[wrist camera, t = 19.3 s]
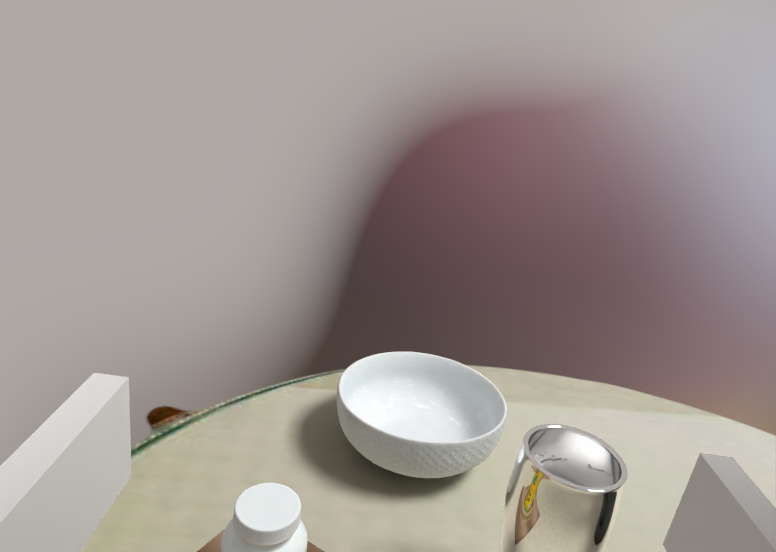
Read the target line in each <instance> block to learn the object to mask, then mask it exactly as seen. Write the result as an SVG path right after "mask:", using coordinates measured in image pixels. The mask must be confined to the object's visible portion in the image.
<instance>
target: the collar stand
mask: <svg viewBox="0 0 776 552" xmlns="http://www.w3.org/2000/svg"><path fill="white" fill-rule="evenodd" d="M223 532H224V530H223V531H222V532H221V533H220V534H218V535H217V536H216V537H215V538H213V539H212V540H211V541H210V542H209V543H207V544H206V545H205V546H204V547H202V548H201V549H200V550H199V551H197V552H220V547H221V539H222V535H223ZM307 552H324V551H322V550H321V549H319V548H318V547H316V546H315V545H313V544H312V543H310V542H308V541H307Z"/></svg>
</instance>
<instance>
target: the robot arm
mask: <svg viewBox="0 0 776 552" xmlns="http://www.w3.org/2000/svg"><path fill="white" fill-rule="evenodd" d="M130 477H131V448H130V412H129V378H128V377H122V376H114V375H107V374H100V373H94V374H93V375H92V376H90V377H89V378H88V379H87V381H85V383H83V384H82V385H81V386H80V387H79V388H78V390H76V391H75V392H74V393H73V394H72V395H71V396H70V397H69V398H68V399H67V400H66V401H65V402H64V404H62V405H61V406H60V407H59V408H58V409H57V410H56V411H55V412H54V413H53V414H52V415H51V416H50V417H49V418H48V419H47V420H46V421H45V422H44V423H43V424H42V425H41V426H40V427H39V428H38V429H37V430H36V431H35V432H34V433H33V434H32V435H31V436H30V437H29V438H28V439H27V440H26V441H25V442H24V443H23V444H22V445H21V446H20V447H19V448H18V449H17V450H16V451H15V452H14V453H13V454H12V455H11V456H10V457H9V458H8V459H7V460H6V461H5V462H4V463H3V464H2V465H1V466H0V552H81V551H82V550H83V548H84V547H85V545H86V544H87V542H88V541H89V539H90V538H91V536H92V535H93V533H94V532H95V530H96V529H97V527H98V526H99V524H100V523H101V521H102V520H103V518H104V517H105V515H106V514H107V512H108V511H109V509H110V507H111V506H112V504H113V503H114V501H115V500H116V498H117V497H118V495H119V494H120V492H121V491H122V489H123V488H124V486H125V485H126V483H127V482H128V480H129V479H130ZM663 545H664V547H665V549H666V551H667V552H776V508H775V507H774V506H773V505H772V503H771V502H770V501H769V500H768V499H767V498H766V496H765V495H764V494H763V493H762V492H761V490H760V489H759V488H758V487H757V486H756V485H755V483H754V482H753V481H752V480H751V479H750V478H749V476H748V475H747V474H746V473H745V472H744V470H743V469H742V468H741V467H740V466H739V465H738V463H737V462H736V461H735V460H734V459H733V458H732V457H725V456H717V455H710V454H702V453H700V455H699V457H698V460H697V462H696V465H695V467H694V469H693V472H692V474H691V477H690V479H689V482H688V484H687V487H686V489H685V491H684V494H683V496H682V499H681V501H680V504H679V506H678V508H677V511H676V513H675V516H674V518H673V521H672V523H671V526H670V528H669V530H668V533H667V535H666V538H665V540H664V543H663Z"/></svg>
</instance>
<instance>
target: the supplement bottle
mask: <svg viewBox="0 0 776 552" xmlns="http://www.w3.org/2000/svg"><path fill="white" fill-rule="evenodd" d="M300 515H301V503H300V499H299V497H298V495H297V494H296V493H295V492H294V491H293V490H292V489H291V488H289V487H287V486H285V485H282V484H278V483H261V484H257V485H254V486H252V487H250V488H248V489H246V490H245V491H244V492H243V493H242V494H241V495H240V496H239V497H238V499H237V501H236V503H235V508H234V517H233V519H232V520H231V521H230V522H229V524H228V525H227V527H226V528H225V530H224V532H223V535H222V539H221V547H220V552H307V533H306V529H305V527H304V525H303V523H302V521H301V520H300Z"/></svg>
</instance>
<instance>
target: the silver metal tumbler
mask: <svg viewBox="0 0 776 552" xmlns="http://www.w3.org/2000/svg"><path fill="white" fill-rule="evenodd" d="M626 480H627V468H626V465H625V463H624V461H623V460H622V458H621V457H620V456H619V454H618V453H617V452H616V451H615V450H614V449H613V448H612V447H610V446H609V445H608V444H607V443H605V442H604V441H602V440H601V439H599V438H597V437H596V436H594V435H592V434H590V433H587V432H585V431H583V430H580V429H577V428H573V427H570V426H565V425H558V424H546V425H540V426H536V427H534V428H532V429H531V430H529V431H528V432H527V433H526V435H525V436H524V439H523V444H522V446H521V449H520V452H519V454H518V457H517V459H516V462H515V464H514V467H513V470H512V473H511V476H510V479H509V483H508V486H507V490H506V494H505V499H504V503H503V511H502V520H501V536H500V552H603V551H604V549H605V547H606V545H607V542H608V540H609V537H610V535H611V533H612V530H613V526H614V523H615V520H616V517H617V514H618V510H619V506H620V502H621V497H622V493H623V489H624V485H625V482H626Z"/></svg>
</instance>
